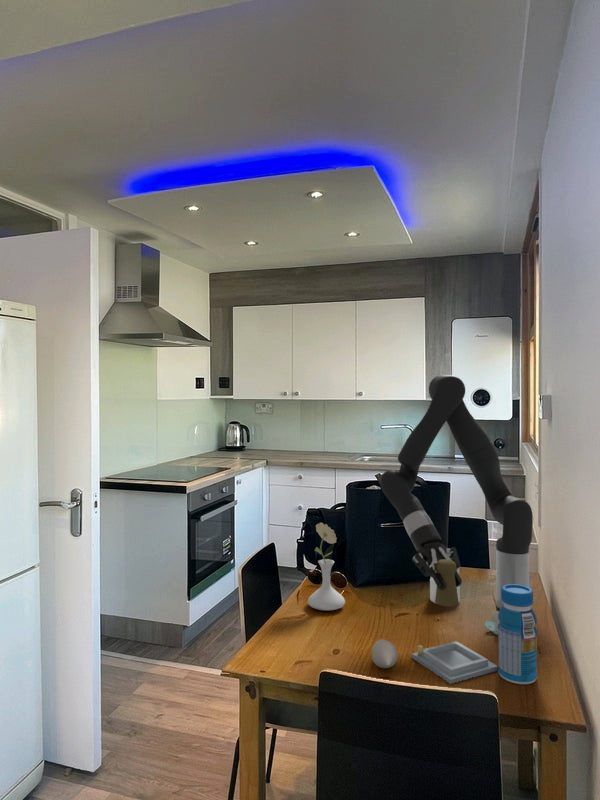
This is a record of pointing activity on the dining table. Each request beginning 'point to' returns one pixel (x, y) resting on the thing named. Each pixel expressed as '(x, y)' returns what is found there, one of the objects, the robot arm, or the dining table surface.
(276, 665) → the dining table surface
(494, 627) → the pacifier
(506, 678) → the beverage bottle
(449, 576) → the cork
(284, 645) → the dining table surface
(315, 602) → the flower in vase
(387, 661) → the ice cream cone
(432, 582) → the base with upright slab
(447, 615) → the dining table surface
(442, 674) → the board
